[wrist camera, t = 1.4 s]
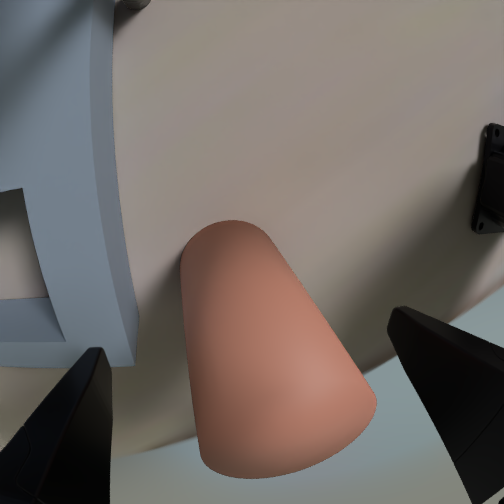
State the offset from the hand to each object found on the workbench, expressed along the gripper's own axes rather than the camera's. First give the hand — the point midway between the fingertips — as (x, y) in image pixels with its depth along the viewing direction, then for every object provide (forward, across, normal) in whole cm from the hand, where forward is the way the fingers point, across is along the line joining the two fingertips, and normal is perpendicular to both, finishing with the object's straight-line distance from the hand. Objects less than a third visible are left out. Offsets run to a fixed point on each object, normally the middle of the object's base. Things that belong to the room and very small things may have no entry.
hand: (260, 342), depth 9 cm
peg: (+5, 0, 0) cm, 5 cm away
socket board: (+5, +9, -7) cm, 12 cm away
